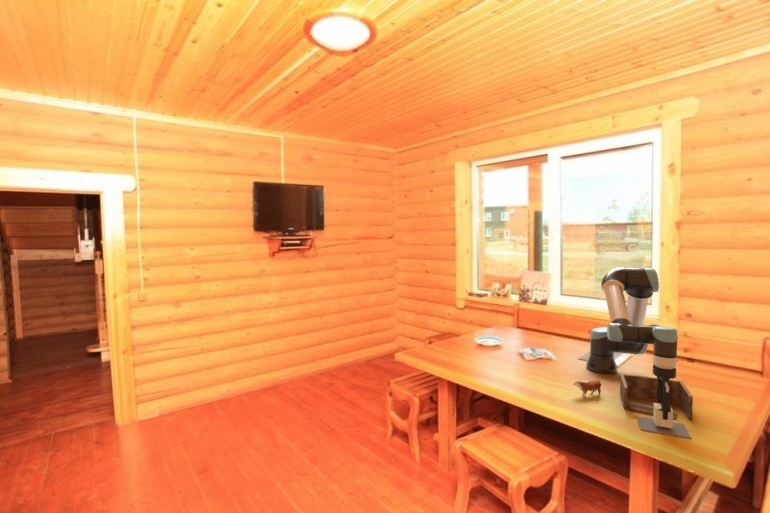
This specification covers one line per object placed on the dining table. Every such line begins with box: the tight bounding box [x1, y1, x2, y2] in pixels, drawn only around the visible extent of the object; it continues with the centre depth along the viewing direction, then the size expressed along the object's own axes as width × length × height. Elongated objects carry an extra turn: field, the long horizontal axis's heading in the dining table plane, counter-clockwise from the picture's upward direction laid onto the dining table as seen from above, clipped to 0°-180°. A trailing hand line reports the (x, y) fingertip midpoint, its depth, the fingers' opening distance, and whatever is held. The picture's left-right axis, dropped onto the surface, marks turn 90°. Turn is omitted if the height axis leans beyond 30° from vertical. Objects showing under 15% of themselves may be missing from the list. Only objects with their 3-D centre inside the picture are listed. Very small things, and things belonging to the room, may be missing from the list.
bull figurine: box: [572, 379, 602, 399], centre depth 185 cm, size 4×13×8 cm, turn 95°
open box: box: [619, 373, 694, 421], centre depth 173 cm, size 24×18×10 cm
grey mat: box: [636, 415, 692, 440], centre depth 155 cm, size 16×12×1 cm
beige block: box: [652, 402, 674, 428], centre depth 154 cm, size 6×6×7 cm
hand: (662, 422), depth 155 cm, fingers closed on beige block, 5 cm apart
